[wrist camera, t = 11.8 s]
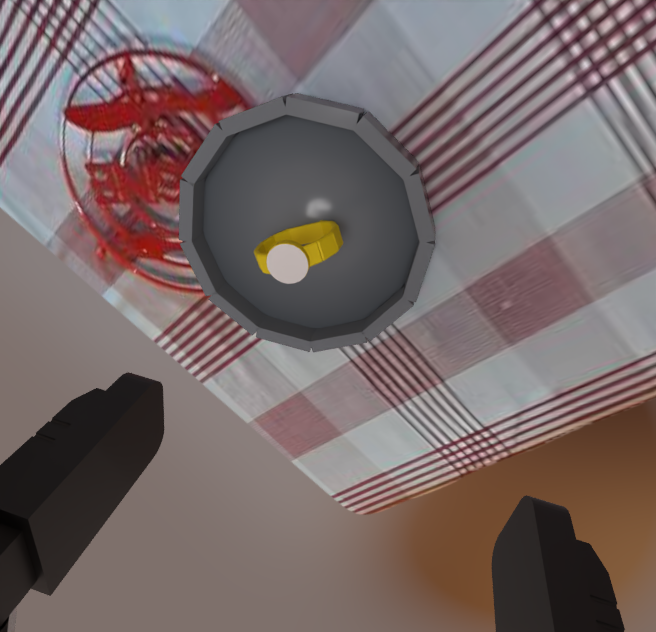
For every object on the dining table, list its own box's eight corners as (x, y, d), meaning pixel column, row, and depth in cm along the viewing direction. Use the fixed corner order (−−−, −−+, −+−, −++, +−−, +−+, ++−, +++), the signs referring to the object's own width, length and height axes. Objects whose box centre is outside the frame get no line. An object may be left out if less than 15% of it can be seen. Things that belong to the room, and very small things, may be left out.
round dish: (467, 133, 29) (470, 139, 27) (393, 356, 39) (391, 374, 36) (199, 70, 30) (181, 71, 28) (191, 301, 40) (177, 315, 38)
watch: (339, 204, 33) (328, 231, 28) (349, 241, 34) (341, 273, 29) (262, 225, 34) (238, 254, 29) (274, 259, 35) (253, 293, 30)
